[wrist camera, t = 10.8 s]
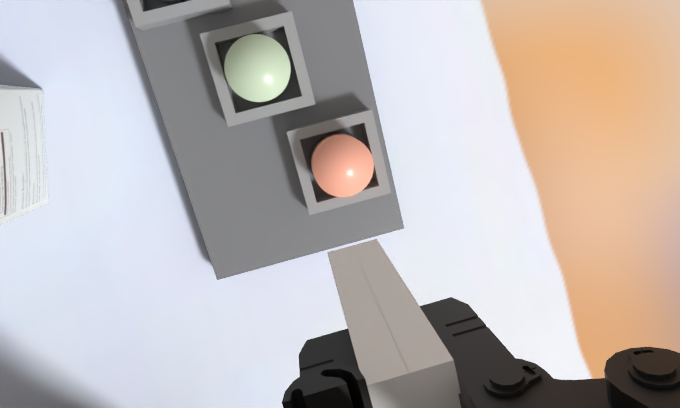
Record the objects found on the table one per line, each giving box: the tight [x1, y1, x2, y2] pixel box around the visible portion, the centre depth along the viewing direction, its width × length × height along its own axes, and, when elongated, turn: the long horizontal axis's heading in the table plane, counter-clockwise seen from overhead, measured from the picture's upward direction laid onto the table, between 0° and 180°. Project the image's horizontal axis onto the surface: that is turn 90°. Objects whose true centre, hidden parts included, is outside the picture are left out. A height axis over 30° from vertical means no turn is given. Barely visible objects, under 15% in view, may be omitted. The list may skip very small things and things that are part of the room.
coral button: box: [310, 133, 374, 197], centre depth 36 cm, size 4×4×4 cm
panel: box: [122, 0, 404, 280], centre depth 36 cm, size 16×30×4 cm, turn 14°
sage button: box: [224, 34, 291, 102], centre depth 34 cm, size 4×4×4 cm
